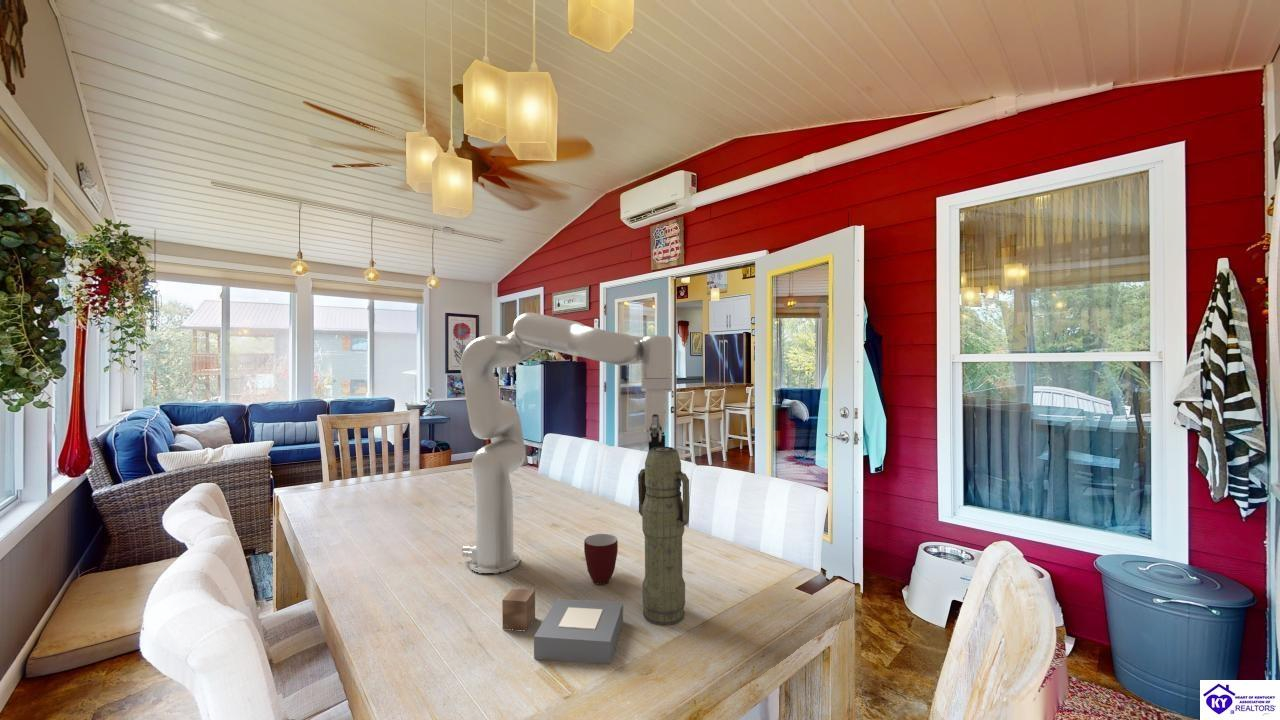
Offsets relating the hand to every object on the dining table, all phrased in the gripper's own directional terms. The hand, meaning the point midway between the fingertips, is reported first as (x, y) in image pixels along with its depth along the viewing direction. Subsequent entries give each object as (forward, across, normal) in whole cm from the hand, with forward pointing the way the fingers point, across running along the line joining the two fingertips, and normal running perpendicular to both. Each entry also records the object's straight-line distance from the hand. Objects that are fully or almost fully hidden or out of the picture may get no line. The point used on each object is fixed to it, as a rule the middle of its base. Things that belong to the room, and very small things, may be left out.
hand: (657, 454), depth 123 cm
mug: (+30, +3, -13) cm, 33 cm away
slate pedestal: (+30, +29, -12) cm, 44 cm away
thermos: (+30, +18, +3) cm, 35 cm away
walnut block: (+30, +25, -26) cm, 47 cm away
